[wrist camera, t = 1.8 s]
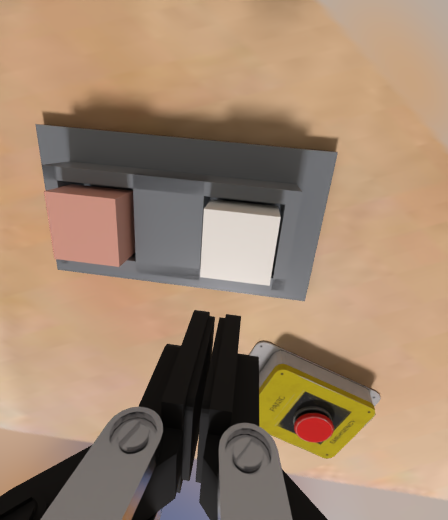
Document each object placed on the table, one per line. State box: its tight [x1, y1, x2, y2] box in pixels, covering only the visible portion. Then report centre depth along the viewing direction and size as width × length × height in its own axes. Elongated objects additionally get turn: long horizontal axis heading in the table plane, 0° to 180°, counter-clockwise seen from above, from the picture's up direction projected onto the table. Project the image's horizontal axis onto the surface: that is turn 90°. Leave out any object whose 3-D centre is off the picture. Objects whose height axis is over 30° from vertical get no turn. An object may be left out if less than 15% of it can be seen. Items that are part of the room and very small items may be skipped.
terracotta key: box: [44, 184, 135, 267], centre depth 22 cm, size 5×5×3 cm
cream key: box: [200, 199, 281, 286], centre depth 22 cm, size 5×5×3 cm
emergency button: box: [249, 341, 380, 459], centre depth 32 cm, size 9×4×15 cm
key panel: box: [36, 124, 338, 301], centre depth 24 cm, size 24×13×4 cm, turn 85°
